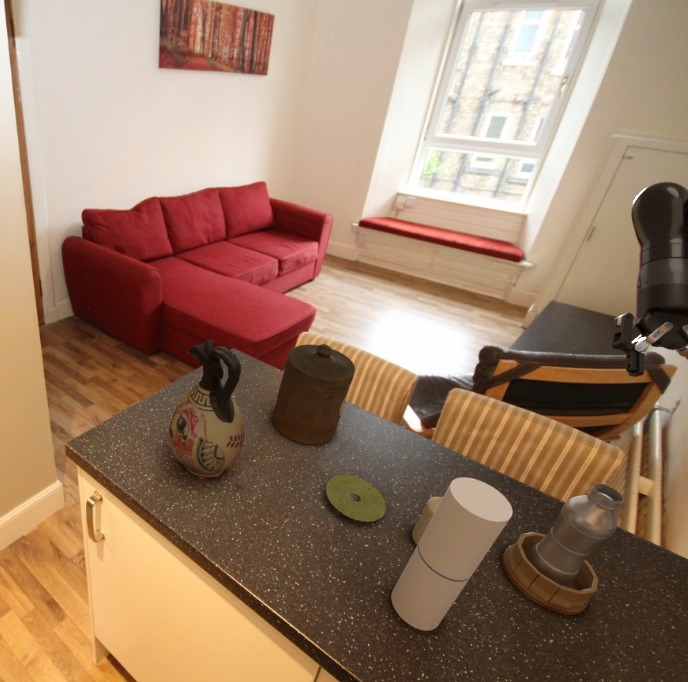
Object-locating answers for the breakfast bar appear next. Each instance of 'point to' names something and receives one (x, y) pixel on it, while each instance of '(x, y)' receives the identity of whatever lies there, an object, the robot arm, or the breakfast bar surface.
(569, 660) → the breakfast bar surface
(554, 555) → the silver metal bottle
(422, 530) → the candle
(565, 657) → the breakfast bar surface
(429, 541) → the cylindrical container
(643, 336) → the robot arm
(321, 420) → the wooden container
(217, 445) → the ceramic jug
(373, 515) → the mat
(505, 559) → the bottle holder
